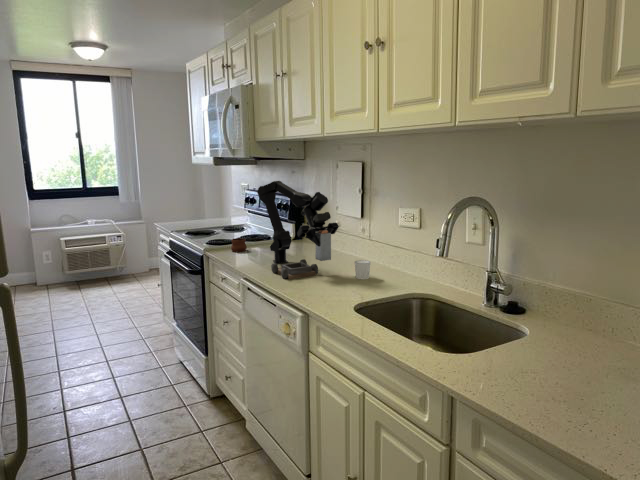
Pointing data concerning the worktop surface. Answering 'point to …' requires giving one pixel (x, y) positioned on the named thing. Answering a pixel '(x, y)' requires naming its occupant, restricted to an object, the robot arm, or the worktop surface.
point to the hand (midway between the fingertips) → (324, 245)
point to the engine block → (323, 245)
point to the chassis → (295, 270)
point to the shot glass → (362, 269)
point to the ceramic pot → (238, 245)
